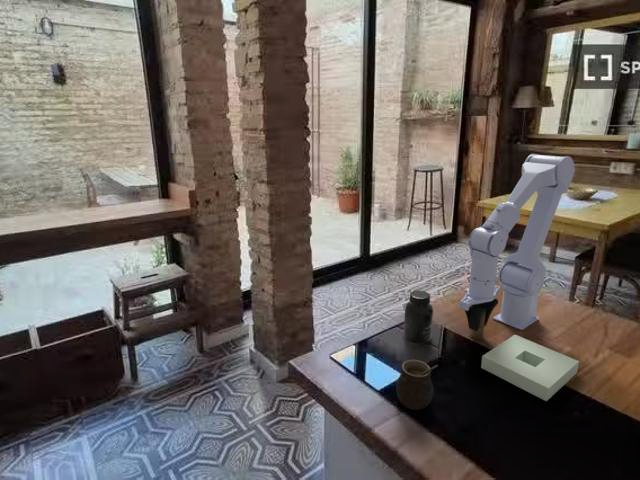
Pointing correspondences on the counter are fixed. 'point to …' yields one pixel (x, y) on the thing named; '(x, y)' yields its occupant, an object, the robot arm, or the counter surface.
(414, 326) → the supplement bottle
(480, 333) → the dowel
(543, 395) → the socket block
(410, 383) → the mate gourd
